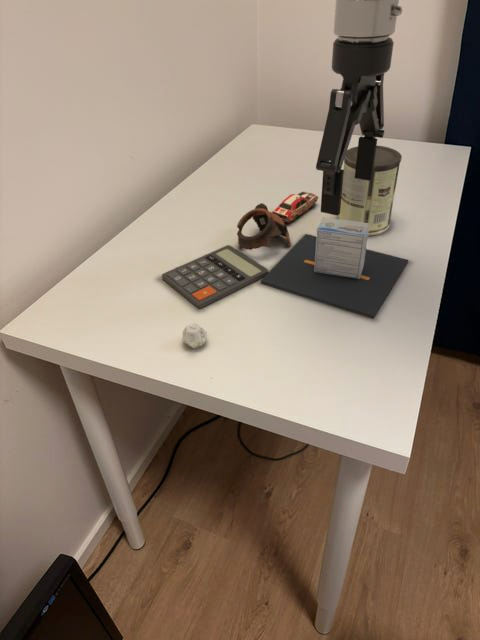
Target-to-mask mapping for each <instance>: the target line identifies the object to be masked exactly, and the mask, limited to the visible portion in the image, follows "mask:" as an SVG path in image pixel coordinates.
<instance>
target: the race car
mask: <svg viewBox="0 0 480 640" xmlns="http://www.w3.org/2000/svg"><path fill="white" fill-rule="evenodd" d="M318 200H319V196H318V195H316V194H314V193H313V192H306V191H300V192H298V193H293V194H292V193H291V194H289V195H288V196H286V198H284V199H283V200H282V201H281V202H280V203H279V204H278V206H276V208H275V209H274V210H272V211H271V212H272V213H274V214H276V215H278V216H279V217H280V218H281V219H282V220H283V221H284V223H287V224H288V223H291V222H294V221H296V220H297V219H298V217H299V216H301V215H303V214H304V213H306V211H308V210H310V208H311V209H313V208H314V207H315V205H316V203H317V202H318Z"/></svg>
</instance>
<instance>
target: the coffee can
mask: <svg viewBox="0 0 480 640" xmlns="http://www.w3.org/2000/svg"><path fill="white" fill-rule="evenodd" d="M357 151H358V145H357V146H354V147H351V148H349V149H347V152H346V155H345V158H344V161H343V167H342V170H344V175H343V186H342V197H341V208H340V214H339V215H338V219H342V220H349V221H357V222H364V223H368V224H369V231H368V237H372V236H376V235H381V234H384V233H385V232H386V231H388V229H389V228H390V222H391V217H392V210H393V207H394V206H393V204H394V199H395V193H396V187H397V182H398V176H399V170H400V164H401V162H402V158H403V156H402V154H401V153H400V152H399V151H397V150H396V149H394V148H392V147H388V146H384V145H377V146H376V153H375V161H374V169H373V176H372V180H371V181H368V180H362V179H357V178H355V169H356V160H357Z"/></svg>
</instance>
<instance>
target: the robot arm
mask: <svg viewBox="0 0 480 640" xmlns="http://www.w3.org/2000/svg"><path fill="white" fill-rule="evenodd" d="M399 2H400V0H335V6H334V7H335V9H334V21H333V24H334V25H333V33H334V35H335V36H336V37H337V38H336V39H335V40H334V41H333V43H332V56H331V57H332V58H331V70H332V71H333V72H334V73H335V74H337V75H340V76H341V77H342V82H341V86H340V89H337V88H332V89H331V91H330V94H329V95H330V96H329V106H328V112H327V115H326V116H327V117H326V121H325V125H324V130H323V134H322V139H321V143H320V147H319V151H318V156H317V159H316V164H315V169H316V171H322V183H321V199H320V213H323V214H327V215H333V216H337V217H339V214H340V208H341V197H342V186H343V175H344V170H343V166H344V158H345V155H346V152H347V150H348V148H349V145H350V142H351V140H352V137H353V134H354V129H355V127H356V125H359V128H360V132H361V135H362V136H359V137H358V143H357V146H358V151H357V160H356V169H355V178H357V179H362V180H368V181H371V180H372V176H373V169H374V161H375V153H376V146H378V138H380V139H383V138H384V135H385V130H384V126H385V114H384V113H385V112H384V110H385V109H384V80H385V79H384V78H385V74H386V73H387V72H388V71H389V70H390V69H391V65H392V59H393V49H394V43H395V42H394V41H393V38H392V37H390V36H392V35H393V34H394V33H395V32H396V26H397V25H396V24H397V19H398V18H397V17H398V16H401V15H402V13H403V8H402V6H400V5H399Z"/></svg>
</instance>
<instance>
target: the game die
mask: <svg viewBox="0 0 480 640" xmlns="http://www.w3.org/2000/svg"><path fill="white" fill-rule="evenodd" d="M207 333H208V331H206V330H205V329H204V328H203V327H202V326H201V325H199V324H197V323H196V322H193V323H191V324H189V325H185V328H184V329H183V331H182V336H181V341H183V342H184V343H185V344H186V345H187V346H189V347H190V348H192V349H198V348H199V347H202V346H203V345H204V344H205V343H206V341H207Z"/></svg>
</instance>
